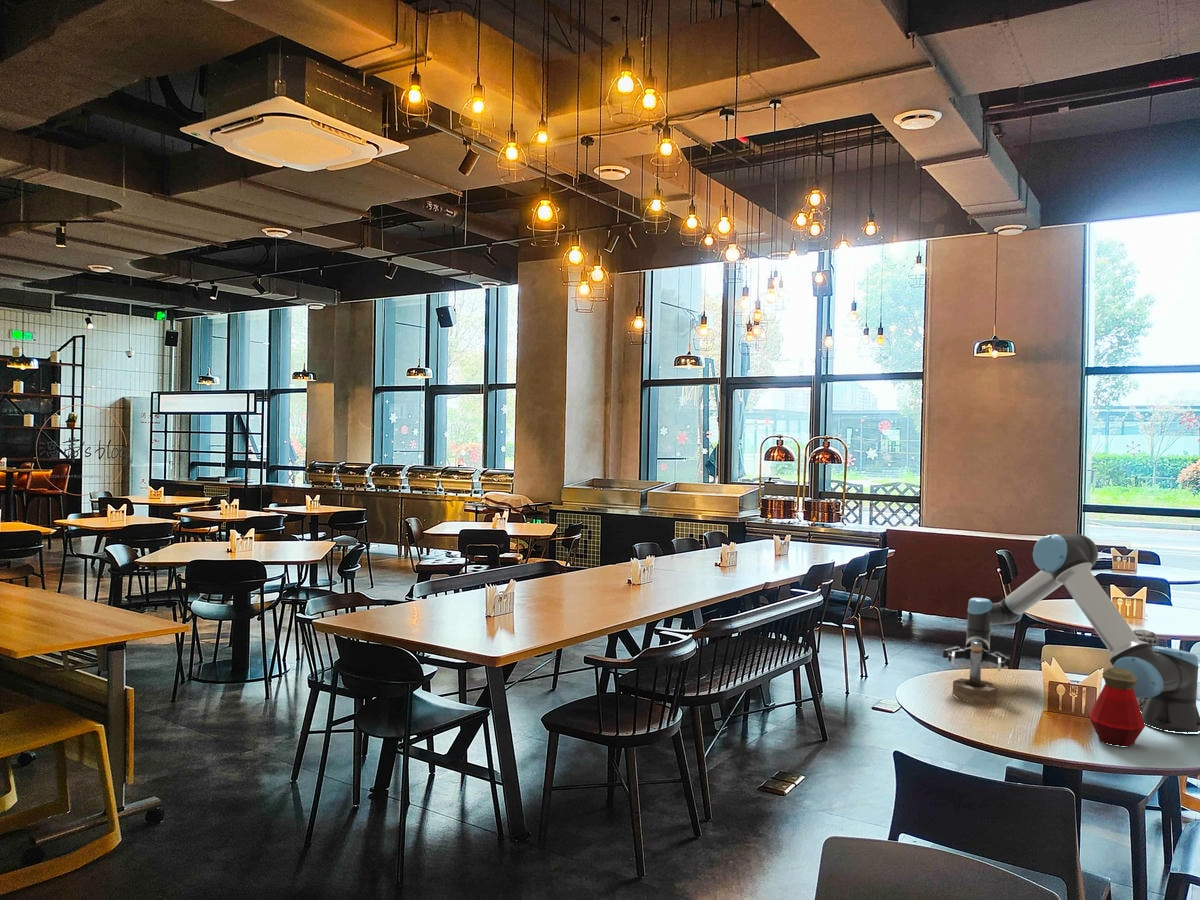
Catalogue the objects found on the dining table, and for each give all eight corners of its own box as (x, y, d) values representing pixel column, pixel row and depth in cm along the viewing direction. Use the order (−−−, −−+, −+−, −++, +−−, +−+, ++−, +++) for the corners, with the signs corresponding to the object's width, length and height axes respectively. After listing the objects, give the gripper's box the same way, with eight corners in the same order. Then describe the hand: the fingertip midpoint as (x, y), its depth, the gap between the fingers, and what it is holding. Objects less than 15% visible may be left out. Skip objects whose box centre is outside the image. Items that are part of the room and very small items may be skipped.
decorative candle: (1147, 706, 268) (1151, 628, 268) (1163, 715, 259) (1167, 635, 259) (1116, 704, 269) (1120, 627, 269) (1132, 713, 260) (1136, 633, 260)
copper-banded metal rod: (981, 700, 268) (983, 644, 268) (970, 699, 269) (973, 643, 268) (977, 697, 272) (980, 641, 271) (967, 696, 272) (969, 641, 272)
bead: (1000, 705, 263) (1001, 691, 263) (961, 702, 265) (961, 688, 264) (986, 693, 275) (987, 680, 275) (949, 691, 277) (949, 677, 276)
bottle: (1092, 728, 245) (1096, 660, 245) (1147, 740, 236) (1151, 669, 236) (1082, 742, 233) (1086, 670, 232) (1140, 755, 224) (1143, 681, 224)
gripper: (1017, 665, 281) (1018, 681, 262) (937, 654, 291) (933, 669, 272) (1018, 643, 281) (1020, 657, 261) (938, 633, 291) (934, 646, 272)
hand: (975, 663), depth 267 cm, fingers open, 13 cm apart
